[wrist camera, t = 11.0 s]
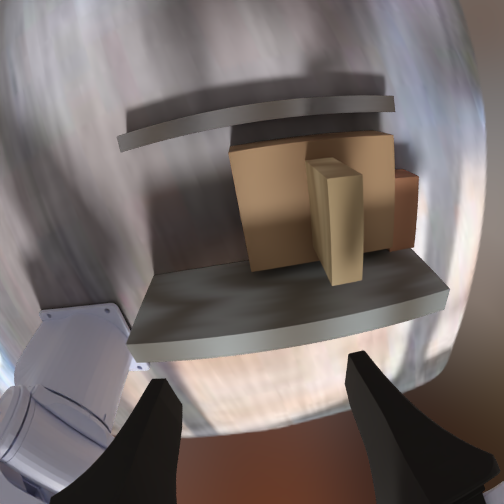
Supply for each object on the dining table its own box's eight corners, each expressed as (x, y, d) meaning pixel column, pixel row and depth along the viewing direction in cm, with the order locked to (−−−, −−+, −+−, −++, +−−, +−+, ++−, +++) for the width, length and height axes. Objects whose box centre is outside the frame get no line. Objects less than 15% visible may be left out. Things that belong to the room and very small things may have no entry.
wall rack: (160, 292, 21) (136, 362, 14) (112, 138, 15) (48, 160, 9) (399, 252, 20) (447, 308, 14) (399, 96, 15) (471, 101, 8)
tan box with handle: (249, 248, 20) (254, 316, 13) (230, 145, 16) (224, 168, 10) (374, 228, 19) (423, 282, 13) (371, 129, 16) (435, 146, 10)
